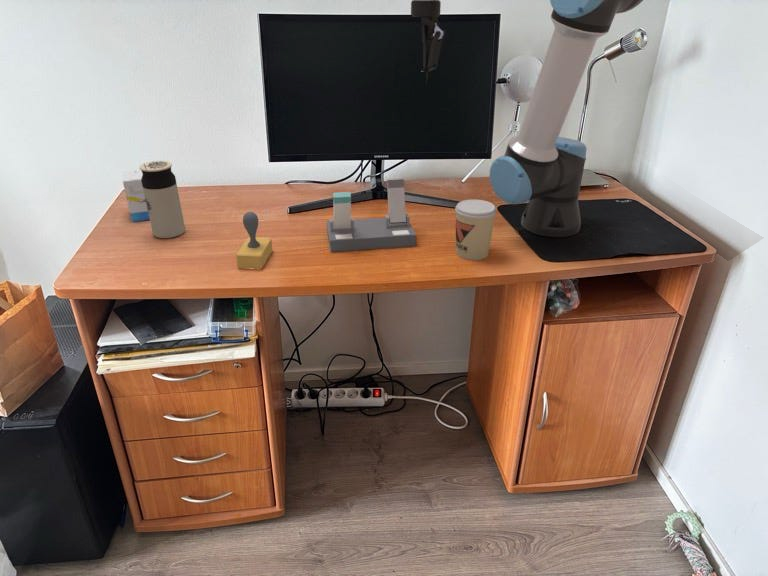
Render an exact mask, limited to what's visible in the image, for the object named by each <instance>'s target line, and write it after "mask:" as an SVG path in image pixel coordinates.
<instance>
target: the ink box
mask: <svg viewBox="0 0 768 576" xmlns="http://www.w3.org/2000/svg"><path fill="white" fill-rule="evenodd" d="M142 175H143V173H142V171H141V170H140V169H139V170H131V171H126V172H122V183H123V188H124V193H125V198H126V201H127V206H128V210H129V214H130V219H131V222H132V223H134V222H143V221H148V220H149V221H150V218H149V214H148V209H147V205H146V200H145V196H144V191H143V187H142V182H141V179H142Z"/></svg>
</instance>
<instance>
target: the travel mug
mask: <svg viewBox="0 0 768 576" xmlns="http://www.w3.org/2000/svg"><path fill="white" fill-rule="evenodd" d="M172 166H173V164H172V162H170V161H168V160H167V161H166V160H153V161H148V162H145V163H142V164H141V165H139V170H141V171H142V173H143V175H142V179H141V182H142V187H143V191H144V196H145V200H146V205H147V209H148V214H149V218H150V220H149V221H150V227H151V231H152V234H153V236H154V237H156V238H160V239H173V238H176V237H179V236H180V235H182V234H183V233H185V232H186V225H185V221H184V215H183V210H182V209H183V208H182V205H181V199H180V194H179V189H178V184H177V179H176V175H175V174H174V173H173V172H172Z"/></svg>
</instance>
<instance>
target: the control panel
mask: <svg viewBox="0 0 768 576" xmlns="http://www.w3.org/2000/svg"><path fill="white" fill-rule="evenodd" d="M410 217H411V216H410V215H409V214H408V213H406V223H395V224H390V223H389V214H385V217H375V218H374V217H373V218H371V217H370V218H360V219H359V218H358V219H354V217H351V219H350V227H344V228H334V220H333V218H329V220H326V233H327V238H328V239H327V240H328V244H329V245H328V246H329V251H330V253H333V252H334V253H335V252H336V253H337V252H349V251H350V252H351V251H361V250H363V251H364V249H365V250H375V249H378V250H379V249H389V248H390V249H391V248H392V249H393V248H403V247H404V248H405V247H415V246H416V244H417V243H416V242H417V241H416V240H417V239H416V238H417V234H416V232H415V230H414V228H413V226H412V225H411V221H410V219H411V218H410Z"/></svg>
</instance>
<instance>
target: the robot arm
mask: <svg viewBox="0 0 768 576" xmlns="http://www.w3.org/2000/svg"><path fill="white" fill-rule="evenodd" d="M643 1H644V0H549V2H550V6H551V7H552V11H551V14H550V19H551V22H552V23H553V26H554V30H553V33H552V36H551V38H550V42H549V44H548V47H547V50H546V54H545V56H544V59H543V61H542V65H541V67H540V70H539V74H538V76H537V79H536V82H535V85H534V88H533V91H532V94H531V97H530V99H529V102H528V106H527V108H526V112H525V114H524V117H523V121H522V124H521V126H520V129H519V132H518V134H517V135H514V136H512V137H511V138H510V139H509V141H508V143H507V146H506V149H505V153H504V155H501V156H499V157H497V158H496V159H494V160H493V162H492V163H491V165H490V167H489V182H490V185H491V186H492V190H493V192H494V193H495V195H496V196H497V198H499V199H500V200H501V201H503V202H505V203H506V204H510V205H519V204H524V203H527V204H526V206H525V209H524V211H522V214H521V215H522V216H521V221H520V225H521V226H522V228H523V229H524V230H526V231H528V232H529V231H530V233H532V234H535V235H538V236H543V237H547V238H549V237H550V238H566V237H572V236H574V235H576V234H578V233H579V232H580V230H581V224H582V219H581V213H580V206H579V197H580V192H581V185H582V180H583V179H582V178H583V174H584V168H585V164H586V160H587V145H586V144H585V143H584V142H582V141H580V140H576V139H573V138H568V137H562V136H560V134H561V131H562V128H563V126H564V124H565V122H566V119H567V117H568V113H569V111H570V108H571V106H572V103H573V101H574V98H575V96H576V93H577V91H578V88H579V85H580V83H581V81H582V78H583V76H584V74H585V70H586V68H587V65H588V63H589V60H590V57H591V55H592V52H593V50H594V47H595V44H596V42H597V40H598V39H599V38H601V37H603V36H605V35H607V34H608V33H609V31H610V28H611V27H612V23H613V21H614V19H615V16H616V15H618V14H622V13H623V14H624V13H626V12H629V11H631V10H633V9H635V8H636V7H638V6H639V5H640V4H642V2H643ZM441 2H442V1H441V0H411V2H410V16H411V15H412V18H413V17H422V18H421V23H422V27H421V32H422V43H423V67H424V68H423V69H420V70H421V72H425V71H426V83H427V79H428V72H430V71H433V70H436V69H437V67H438V63H439V59H440V53H441V48H442V44H443V40H444V39H445V35H446V30H442V29H441V28H440V27H439V25H440V24H439V21H438V19H439V17H440V16H441V4H442V3H441ZM432 38H433V40H430V39H432Z"/></svg>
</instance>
